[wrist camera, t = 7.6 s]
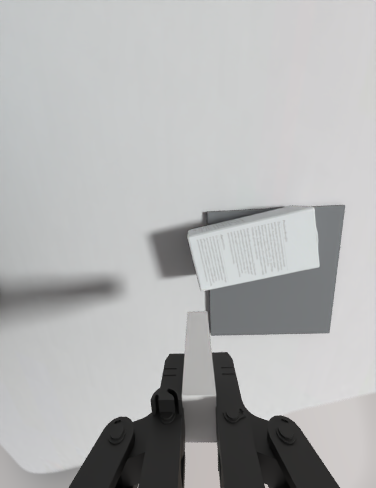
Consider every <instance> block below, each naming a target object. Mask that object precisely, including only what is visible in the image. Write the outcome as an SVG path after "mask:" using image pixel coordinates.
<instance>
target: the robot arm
mask: <svg viewBox="0 0 376 488" xmlns="http://www.w3.org/2000/svg"><path fill="white" fill-rule="evenodd" d="M151 407H152V413H151V414H149V415H148V416H147V417H145V418H143V419H140V420H137V421H134V422H132V421H131V419H129V418H127V417H118V418H116V419H114V420H112V421H111V422H110V423H108V425H107V426H106V427H105V428H104V430H103V432H102V433H101V435H100V437H99V438H98V440H97V442H96V443H95V445H94V446H93V448H92V450H91V451H90V453H89V455H88V456H87V458H86V460H85V461H84V463H83V465H82V466H81V468H80V470H79V471H78V473H77V475H76V476H75V478H74V480H73V481H72V483H71V485H70V486H69V488H137V487H138V484H139V487H138V488H184V479H185V442H217V446H218V471H219V476H220V487H221V488H265V486H264V483H265V484H267V485H268V487H269V488H340V487H339V486H338V484H337V483H336V481H335V480H334V478H333V477H332V476H331V474H330V472H329V471H328V469H327V468H326V466H325V465H324V463H323V462H322V460H321V459H320V458H319V456H318V455H317V453H316V452H315V450H314V449H313V447H312V446H311V444H310V443H309V441H308V440H307V438H306V437H305V436H304V434H303V432H302V431H301V429H300V428H299V427H298V426H297V425H296V424H295V422H293V421H292V420H290V419H289V418H287V417H284V416H274V417H272V418H271V419H270V420H269V421H267V420H264V419H261V418H259V417H256V416H254V415H253V414H251V413H250V412H249V411H248V410H247V409H246V408H245V406H244V404H243V402H242V399H241V394H240V390H239V386H238V381H237V377H236V373H235V368H234V364H233V360H232V358H231V357H230V355H229V354H228V353H227V352H219V353H212V351H211V341H210V332H209V323H208V313H207V311H198V312H187V326H186V341H185V354H169V356H168V357H167V359H166V360H165V365H164V370H163V376H162V381H161V387H160V388H159V389H158V390H157V391H156V392H155V393H154V394H153V396H152V398H151Z"/></svg>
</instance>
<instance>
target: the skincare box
mask: <svg viewBox="0 0 376 488" xmlns="http://www.w3.org/2000/svg"><path fill="white" fill-rule="evenodd" d="M187 239H188V243H189V247H190V251H191V255H192V259H193V263H194V267H195V271H196V275H197V279H198V283H199V287H200V290H201V291H206V290H211V289H216V288H221V287H226V286H230V285H235V284H240V283H245V282H250V281H255V280H260V279H265V278H269V277H274V276H279V275H284V274H289V273H293V272H298V271H303V270H308V269H313V268H318V267H319V266H320V265H319V255H318V232H317V228H316V221H315V209H314V207H310V206H293V205H292V206H288V207H283V208H279V209H275V210H271V211H267V212H262V213H258V214H254V215H250V216H246V217H241V218H237V219H233V220H229V221H224V222H220V223H216V224H212V225H208V226H203V227H199V228H195V229H191V230H188V235H187Z"/></svg>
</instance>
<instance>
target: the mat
mask: <svg viewBox="0 0 376 488" xmlns="http://www.w3.org/2000/svg"><path fill="white" fill-rule="evenodd" d="M312 207H314V209H315V221H316V228H317V232H318V255H319V265H320V266H319V267H318V268H313V269H308V270H303V271H298V272H293V273H289V274H284V275H279V276H274V277H269V278H265V279H260V280H255V281H250V282H245V283H240V284H235V285H230V286H226V287H221V288H216V289H211V290H209V292H210V327H211V336H215V335H264V334H312V333H329V332H330V324H331V315H332V307H333V299H334V291H335V283H336V275H337V267H338V259H339V251H340V243H341V235H342V227H343V219H344V210H345V205H333V206H312ZM275 209H279V208H271V209H250V210H230V211H209V212H207V223H208V225H212V224H216V223H220V222H224V221H229V220H233V219H237V218H241V217H246V216H250V215H254V214H258V213H262V212H267V211H271V210H275Z"/></svg>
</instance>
